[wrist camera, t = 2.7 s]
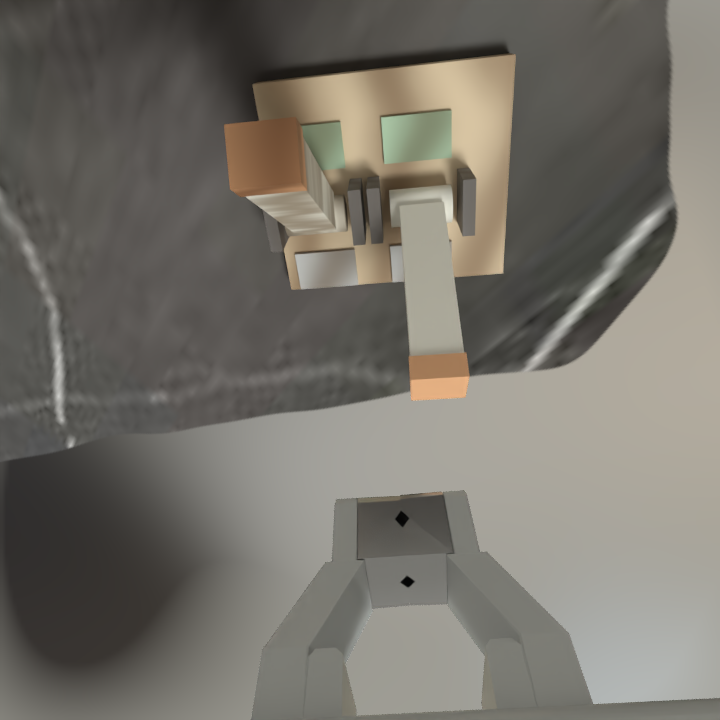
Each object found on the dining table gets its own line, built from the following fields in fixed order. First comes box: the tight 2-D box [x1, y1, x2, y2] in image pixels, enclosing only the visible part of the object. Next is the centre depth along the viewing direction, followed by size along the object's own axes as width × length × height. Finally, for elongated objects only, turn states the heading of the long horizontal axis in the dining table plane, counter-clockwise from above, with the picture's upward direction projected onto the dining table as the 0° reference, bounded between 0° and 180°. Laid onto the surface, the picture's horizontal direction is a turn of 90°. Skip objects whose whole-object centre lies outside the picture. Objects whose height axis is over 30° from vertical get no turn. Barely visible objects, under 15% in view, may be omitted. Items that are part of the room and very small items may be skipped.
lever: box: [389, 184, 469, 401], centre depth 30 cm, size 4×3×15 cm, turn 96°
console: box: [224, 53, 516, 290], centre depth 29 cm, size 16×14×16 cm
